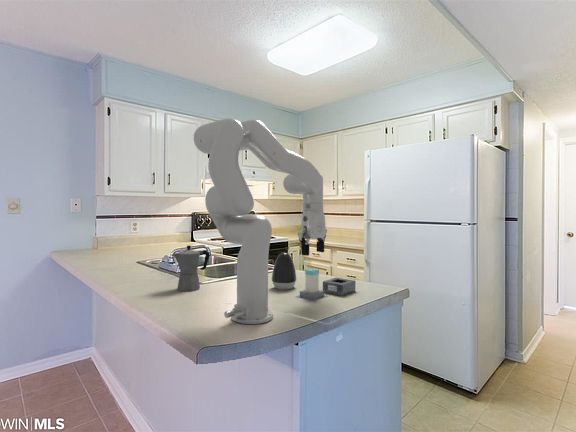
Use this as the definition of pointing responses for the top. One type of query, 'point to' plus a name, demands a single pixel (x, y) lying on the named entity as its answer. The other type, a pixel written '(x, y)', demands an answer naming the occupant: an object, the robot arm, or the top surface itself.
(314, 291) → the blue capped white bottle
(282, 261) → the dark egg-shaped speaker
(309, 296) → the grey square open box
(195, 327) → the top surface
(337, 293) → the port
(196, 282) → the coffeepot
